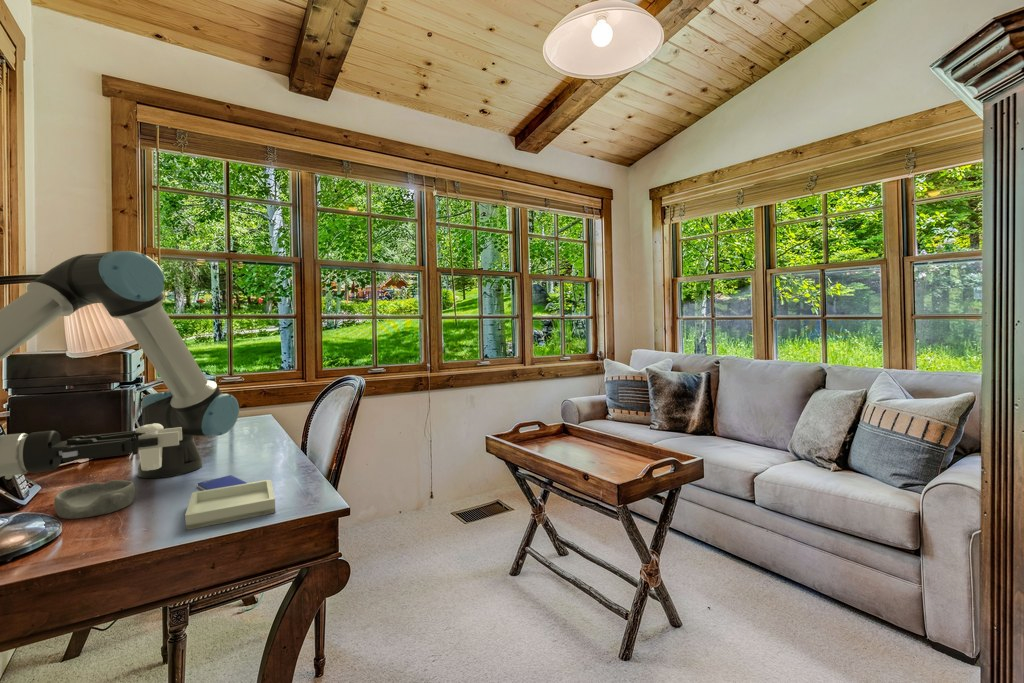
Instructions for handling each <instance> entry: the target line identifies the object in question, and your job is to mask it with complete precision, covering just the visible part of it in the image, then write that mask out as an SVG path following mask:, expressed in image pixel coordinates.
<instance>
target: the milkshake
mask: <svg viewBox="0 0 1024 683" xmlns="http://www.w3.org/2000/svg"><path fill="white" fill-rule="evenodd" d="M134 422H135V425H136V426H137V428H136V429H135V431H136V436H137V440H138V436H141V435H150V434H159V433H163V429H164V427H163V426H162V425H161V424H158V423H153V424H148V425H144V426H143V425H141V426H140V424H139V422H138V419H136V420H134ZM138 454H139V455H138V456H139V463H140V462H141V469H142V470H143V471H148V470H154V469H158V468H161V467H162V447H159V448H151V449H143V450H139V449H138Z"/></svg>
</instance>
